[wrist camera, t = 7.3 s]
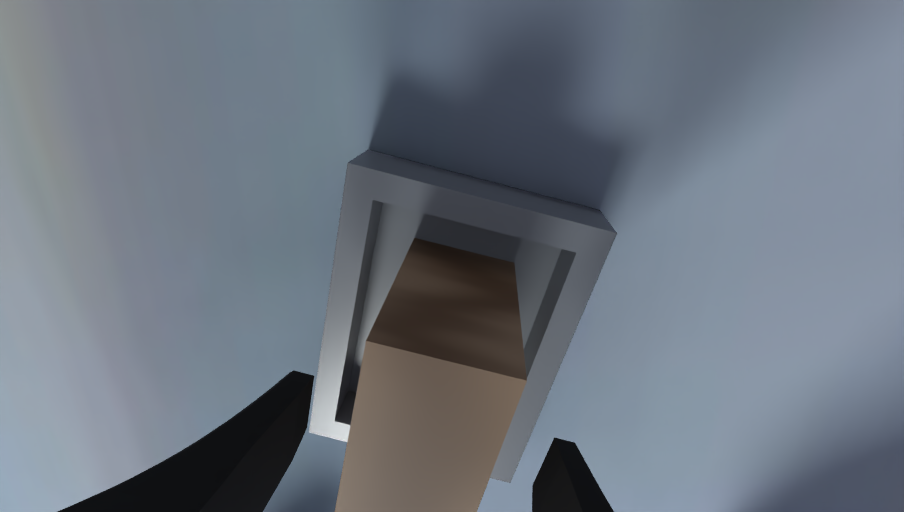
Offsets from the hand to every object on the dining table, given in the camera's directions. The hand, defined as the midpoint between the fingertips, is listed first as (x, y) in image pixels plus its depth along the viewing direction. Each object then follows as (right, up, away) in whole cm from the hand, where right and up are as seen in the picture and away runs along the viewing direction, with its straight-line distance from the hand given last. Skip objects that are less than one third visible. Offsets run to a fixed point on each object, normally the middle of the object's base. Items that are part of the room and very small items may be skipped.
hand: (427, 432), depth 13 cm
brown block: (0, +2, +6) cm, 6 cm away
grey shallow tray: (+1, +3, +6) cm, 7 cm away
